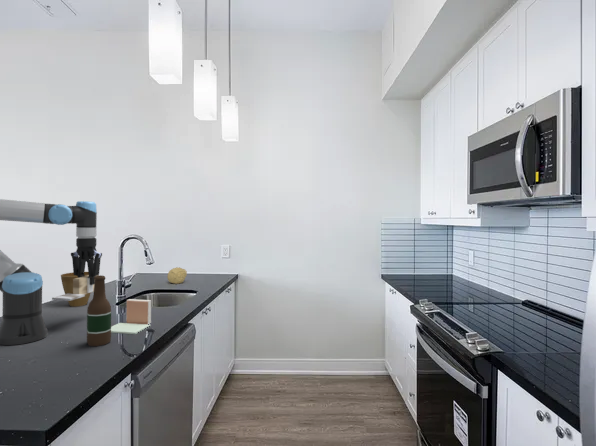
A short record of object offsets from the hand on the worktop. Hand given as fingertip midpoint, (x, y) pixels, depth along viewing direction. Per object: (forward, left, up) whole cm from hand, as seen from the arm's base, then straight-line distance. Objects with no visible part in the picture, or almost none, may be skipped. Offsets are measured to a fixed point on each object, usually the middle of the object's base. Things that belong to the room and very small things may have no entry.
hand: (86, 292), depth 159 cm
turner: (-4, 0, 0) cm, 4 cm away
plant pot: (+25, +25, -13) cm, 38 cm away
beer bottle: (-24, -23, -13) cm, 36 cm away
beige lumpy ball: (+96, +7, -13) cm, 98 cm away
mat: (-7, -23, -13) cm, 27 cm away
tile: (+1, -23, -13) cm, 27 cm away
